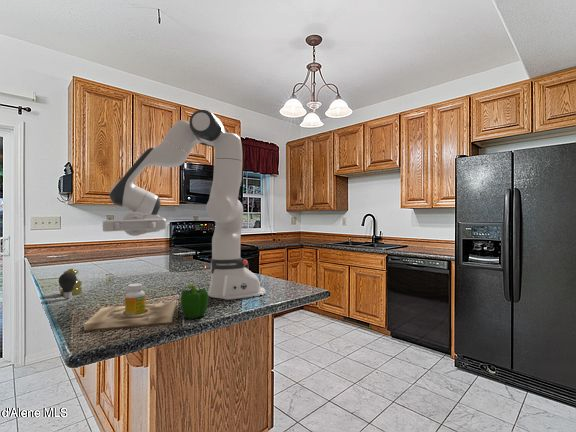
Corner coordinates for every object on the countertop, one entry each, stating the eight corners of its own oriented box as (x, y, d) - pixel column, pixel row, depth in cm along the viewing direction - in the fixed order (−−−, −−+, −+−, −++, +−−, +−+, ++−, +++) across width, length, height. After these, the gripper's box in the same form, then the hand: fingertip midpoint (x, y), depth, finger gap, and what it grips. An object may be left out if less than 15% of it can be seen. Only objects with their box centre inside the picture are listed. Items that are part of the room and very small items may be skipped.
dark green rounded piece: (54, 295, 124) (55, 270, 124) (72, 291, 131) (72, 267, 131) (70, 296, 122) (70, 270, 122) (86, 292, 129) (86, 267, 130)
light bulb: (64, 297, 121) (64, 271, 121) (79, 296, 122) (79, 270, 122) (55, 301, 115) (55, 273, 116) (71, 300, 116) (71, 273, 116)
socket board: (175, 308, 105) (175, 302, 105) (171, 323, 90) (171, 316, 90) (101, 313, 99) (101, 307, 99) (84, 331, 84) (84, 323, 84)
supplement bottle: (137, 320, 92) (137, 286, 92) (120, 319, 93) (120, 286, 93) (148, 314, 97) (148, 283, 97) (133, 313, 98) (133, 282, 98)
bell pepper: (197, 310, 102) (197, 280, 102) (213, 315, 97) (213, 283, 97) (174, 317, 96) (174, 284, 96) (189, 322, 91) (189, 287, 91)
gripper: (102, 216, 113) (100, 217, 101) (163, 214, 123) (167, 215, 111) (103, 233, 114) (100, 237, 101) (163, 230, 123) (168, 233, 111)
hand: (136, 226), depth 106 cm, fingers open, 8 cm apart
